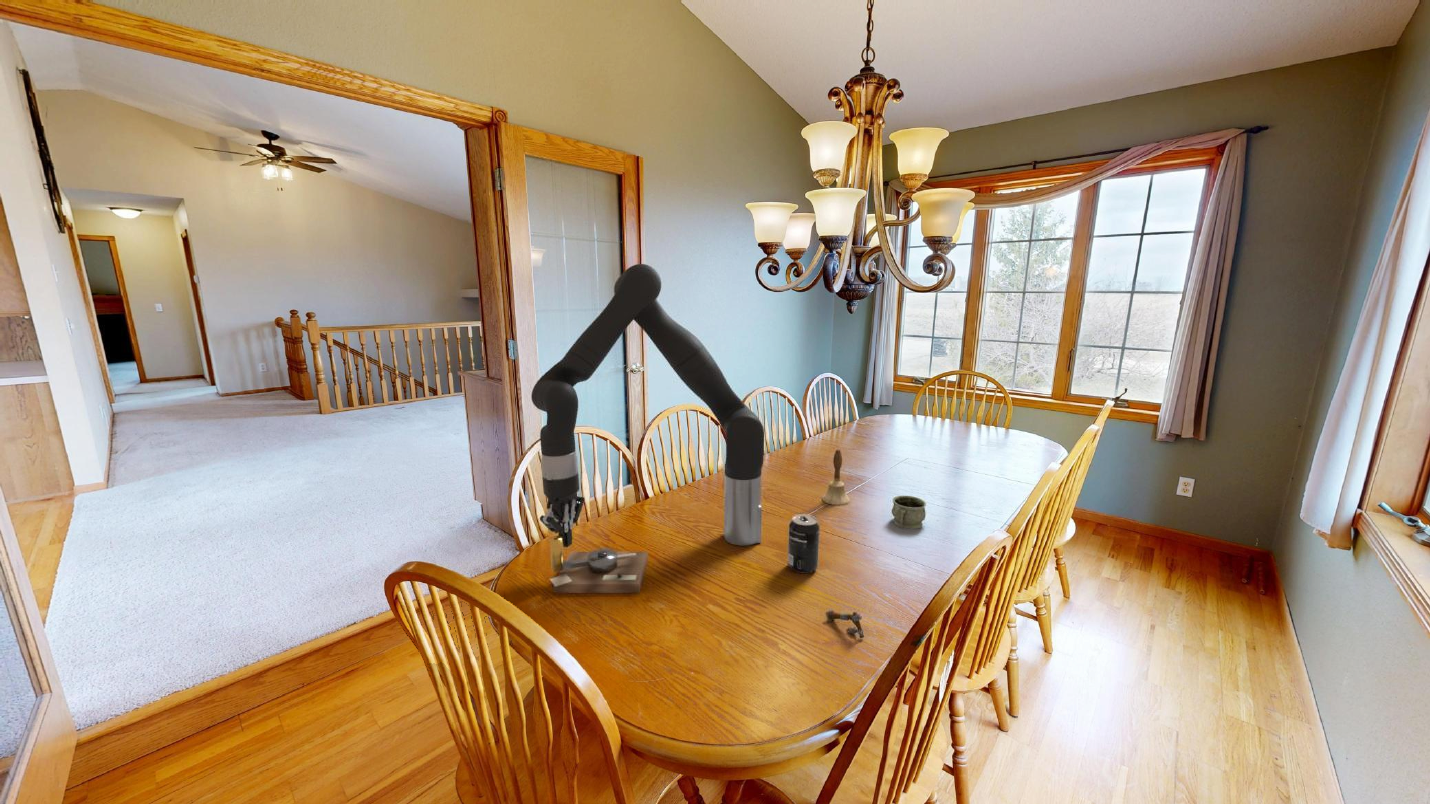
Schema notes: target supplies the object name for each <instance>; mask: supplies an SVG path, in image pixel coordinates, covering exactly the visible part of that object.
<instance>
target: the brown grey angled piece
mask: <svg viewBox="0 0 1430 804" xmlns="http://www.w3.org/2000/svg"><path fill="white" fill-rule="evenodd" d="M825 615H826V619H827V622H829V623H830V622H831V621H834V620H841V621H851V622H852V623H853V624H854V627H853V626H849V627H847V628H846V631H847V632H848V634H852V635H855V634H858V636H859V639H863V638H865V635H864V634H865V633H864V630H863V628H862V625H861V622H860V620H862V619H863V617H862V615H861V614H860V613H857V612H856V611H854V612H852V614H851V613H849V612H847V613H846V612H845V613H843V612H842V613H839V612H835V611H834V609H832V608H831V609H829V610H828V611H826V612H825Z"/></svg>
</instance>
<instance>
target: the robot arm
mask: <svg viewBox="0 0 1430 804" xmlns="http://www.w3.org/2000/svg"><path fill="white" fill-rule="evenodd" d="M661 290H662V280H661V277H660V273H658V271H657V270H656V269H655V268H653V267H652V266H651V265H648V264H646V263H645V264H644V263H638V264H637V263H636V264H634V265H631V266H630V267H628V268H627V269H625V270H624V271H623V272H622V274H621V275H620V276H619V277H618V278H617V280H616V281H615V284H614V286H613V293H614V294H613V296H612V298H611V300H610V301H609V302H608V303H607V305H606V306H605V307H604V309H603V310H602V311H601V313H600V314H598V316H597V317H596V318H595V319H594V320H593V321H592V322H591V323H590V324H589V325H588V327H587V328H586V329H585V330H584V331H583V332H582V334H581V335H579V336H578V337H577V339H576V340H575V342H574V343H573V344H572V345H571V347H570V348H569V349H568V351H567V352H566V353H565V355H564V356H563V358H561V359H560V361H558V362H557V363H555V364H554V365H553V366H552V367H550V369H548V370H547V371H546V372H545V373H544V374H543V375H541V377H539V379H538V380H537V381H536V383H535V384H534V386H533V388H532V391H531V394H530V395H531V401H532V404H533V406H534V407H536V408H537V410H540V411H542V412H545V413H546V424H545V425H544V426H542V427H541V429H540V432H539V433H540V434H539V438H540V451H541V460H540V468H541V477H542V478H541V480H542V487H543V488H542V489H543V494H544V496H545V497H546V498H547V502H546V509H547V511H546V512H545V513H544V515H541V516H539V522H541V523H542V524H543V525H544V526H545V527H546V528H547V529H548V530H549V531H550V532H552V533H558V535H557V536H562V541H563V548H568V547H570V546H571V545H572V544H573V530H572V529H573V528H574V524H577V523H578V521H579V518H580V515H581V512H582V510H583V507H584V503H585V497H584V496H579V495H578V492H579V491H580V478H579V477H580V475H579V461H578V456H577V451H576V438H575V429H576V424H577V418H578V413H579V412H578V411H579V398H578V393H577V391H576V389H575V388H574V387H575V386H576V385H577V384H579V383H581V382H586V381H588V380H589V379H590V378H591V377H592V376H593V375H594V373H595V372H596V371H597V369H598V368H599V367H600V365H601V364H602V363H603V362H604V360H605V358H606V357H607V356H608V354H609V353H610V351H611V350H612V349H613V347H614V346H615V345H616V343H617V342H618V340H619V339H620V337H621V336H622V335H623V333H624V332H625V331H626V329H627V328H628V327H629V325H630V324H631V323H632V322H633V321H634V323H636V324H637V325H638V326H639V327H640V328H641V329H642V330H643V332H644V333H645V334H646V335H647V337H649V339H650V340H651V342H652V343H653V344H654V346H655V347H656V349H657V350H658V351H659V353H661V354H662V356H663V358H664V359H665V360H666V362H668V364H669V366H670V367H671V368H672V369H673V371H674V372H675V374H677V376H678V377H679V379H680V380H681V381H682V382H683V383H684V384H685V386H687V388H688V389H689V390H691V392H692V393H694V394H695V396H697V397H698V398H699V399H700V400H701V401H702V402H704V404H705V405H707V406H708V408H709V410H710V411H711V412H712V413H713V415H714V417H715V419H716V420H717V422H718V423H719V425H720V427H721V428H722V430H723V432H724V434H725V463H724V494H723V495H724V500H723V502H724V505H723V506H724V511H723V527H724V528H723V532H724V534H723V538H724V540H725V541H726V542H727V543H729V544H731V545H736V546H740V547H741V546H751V545H754V544H759V543H760V544H761V543H762V517H763V516H762V515H763V513H762V512H763V510H762V509H763V506H762V471H763V470H762V469H763V465H764V458H765V457H764V454H765V427H764V426H763V423H762V421H761V419H759V417H758V415H756V414H755V412H753V411H752V410H751V409H750V408H749V407H748V406H747V404H745V403H744V401H742V399H741V398H740V397H739V396H738V395H737V394H736V392H735V391H734V390H733V389H732V388H731V386H730V384H729V382H728V380H727V378H726V376H725V375H724V374H723V372H722V370H721V368H720V366H719V365H718V364H717V362H716V360H715V359H714V358H713V356H712V355H711V354H710V352H709V350H708V349H707V348H706V347H705V346H704V344H703V342H701V340H700V339H699V338H698V337H696V336H695V334H693V333H692V332H690V330H688V329H686V328H685V327H684V326H682V325H681V324H680V323H678V322H677V321H675V320H674V319H673V318H672V317H671V316H670V315H669V314H668V313H667V312H666V311H665V309H664V308H663V307H662V305H661V304H660V302H659V300H658V297H659V295H660V293H661Z"/></svg>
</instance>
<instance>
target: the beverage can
mask: <svg viewBox="0 0 1430 804" xmlns="http://www.w3.org/2000/svg"><path fill="white" fill-rule="evenodd" d="M820 528H821V527H820V524H819V523H818V519H817V517H815V516H814V515H812V514H807V513H806V514H805V513H799V514H798V513H797V514H795V515H793V516H792V517H791V520H790V522H789V524H788V542H787V543H788V545H787V565H788V567H789V568H790V569H791V570H793V571H794V572H797V573H799V574H809V573H811V572H814V571H815V570H817V568H818V567H819V552H820V551H819V549H820V533H821V532H820V530H821V529H820Z"/></svg>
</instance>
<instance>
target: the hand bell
mask: <svg viewBox="0 0 1430 804" xmlns="http://www.w3.org/2000/svg"><path fill="white" fill-rule="evenodd" d="M832 463H833V467H834V476H833V480H831V481H829V484H828V488H827V490H826V491H827V492H826V493H825V494H823V495H822V498H821V499H822V501H823V502H824V503H826V504H827V505H828V504H829V505H832V506H833V505H834V506H845V505H849V504H850V502H851V499H850V498H849V496H848V495H847V493H846V490H845V483H844V482H843V481H841V468H842V464H843V456H842V452H841V449H838V448H837V449H836V450H835V452H834V455H833V462H832Z"/></svg>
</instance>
